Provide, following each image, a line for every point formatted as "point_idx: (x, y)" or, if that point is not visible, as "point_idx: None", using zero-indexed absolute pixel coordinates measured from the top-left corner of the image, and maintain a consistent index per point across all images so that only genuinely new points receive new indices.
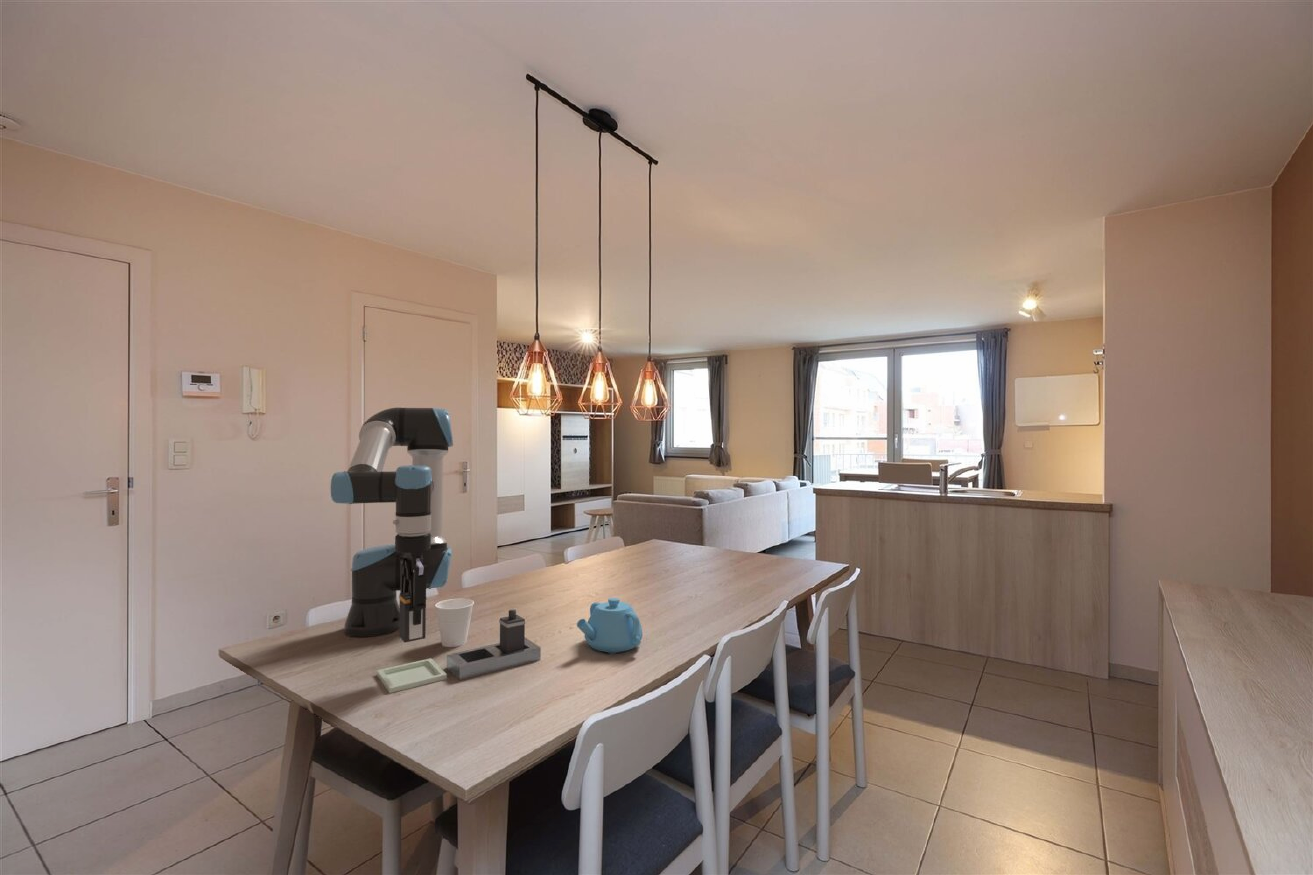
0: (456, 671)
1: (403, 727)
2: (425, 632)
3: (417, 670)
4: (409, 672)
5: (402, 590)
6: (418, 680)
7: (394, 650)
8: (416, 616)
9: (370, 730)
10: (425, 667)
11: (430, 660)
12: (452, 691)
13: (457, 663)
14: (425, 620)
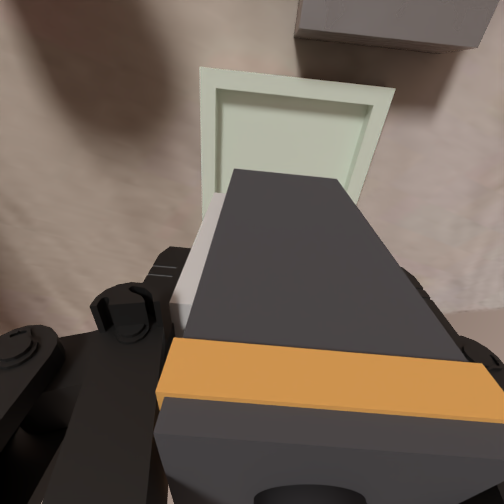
0: (418, 46)
1: (500, 271)
2: (344, 189)
3: (247, 139)
4: (245, 164)
5: (42, 490)
6: (356, 184)
7: (5, 121)
8: None
9: (445, 307)
10: (239, 106)
11: (221, 79)
12: (471, 111)
13: (434, 36)
14: (369, 224)
